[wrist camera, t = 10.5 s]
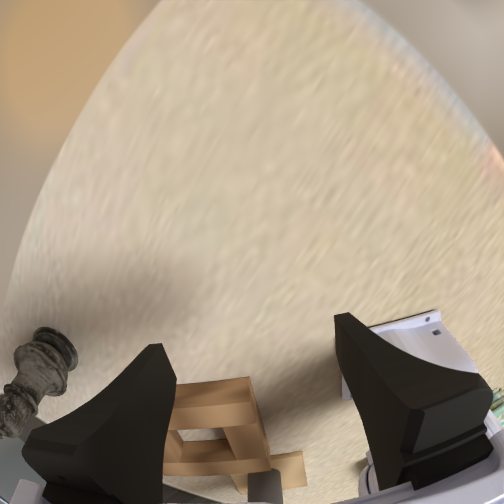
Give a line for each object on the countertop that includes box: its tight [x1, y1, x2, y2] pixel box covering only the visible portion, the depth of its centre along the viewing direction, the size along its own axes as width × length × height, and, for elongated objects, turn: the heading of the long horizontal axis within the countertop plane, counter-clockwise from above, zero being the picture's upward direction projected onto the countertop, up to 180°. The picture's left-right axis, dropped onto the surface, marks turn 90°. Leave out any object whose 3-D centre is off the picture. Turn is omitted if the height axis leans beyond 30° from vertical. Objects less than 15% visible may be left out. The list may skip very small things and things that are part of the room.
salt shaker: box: [0, 327, 78, 439], centre depth 20 cm, size 6×6×12 cm
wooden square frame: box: [163, 377, 271, 476], centre depth 27 cm, size 12×12×3 cm
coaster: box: [230, 451, 307, 494], centre depth 33 cm, size 9×9×1 cm
